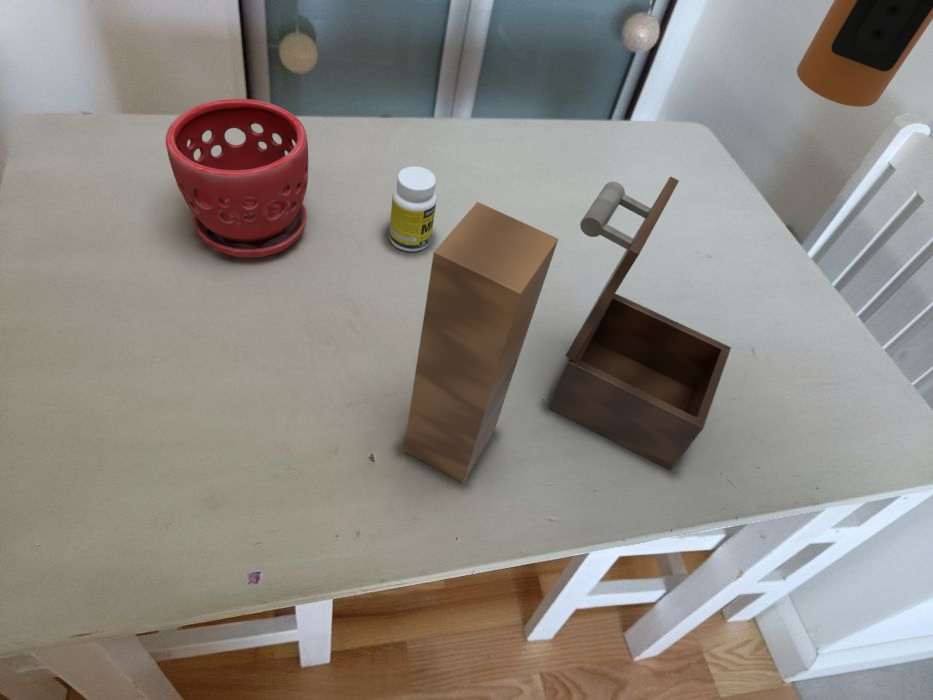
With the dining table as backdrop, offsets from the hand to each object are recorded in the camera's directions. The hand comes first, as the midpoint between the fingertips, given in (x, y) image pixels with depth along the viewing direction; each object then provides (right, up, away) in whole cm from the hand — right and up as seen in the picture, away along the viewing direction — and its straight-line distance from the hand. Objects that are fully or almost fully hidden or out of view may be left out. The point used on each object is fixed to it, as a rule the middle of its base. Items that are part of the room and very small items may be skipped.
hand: (866, 36), depth 38 cm
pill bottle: (0, -2, +2) cm, 3 cm away
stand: (-23, -25, +24) cm, 42 cm away
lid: (-9, -11, +20) cm, 24 cm away
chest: (-6, -22, +30) cm, 38 cm away
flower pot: (-46, -4, +38) cm, 59 cm away
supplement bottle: (-28, -5, +40) cm, 49 cm away
